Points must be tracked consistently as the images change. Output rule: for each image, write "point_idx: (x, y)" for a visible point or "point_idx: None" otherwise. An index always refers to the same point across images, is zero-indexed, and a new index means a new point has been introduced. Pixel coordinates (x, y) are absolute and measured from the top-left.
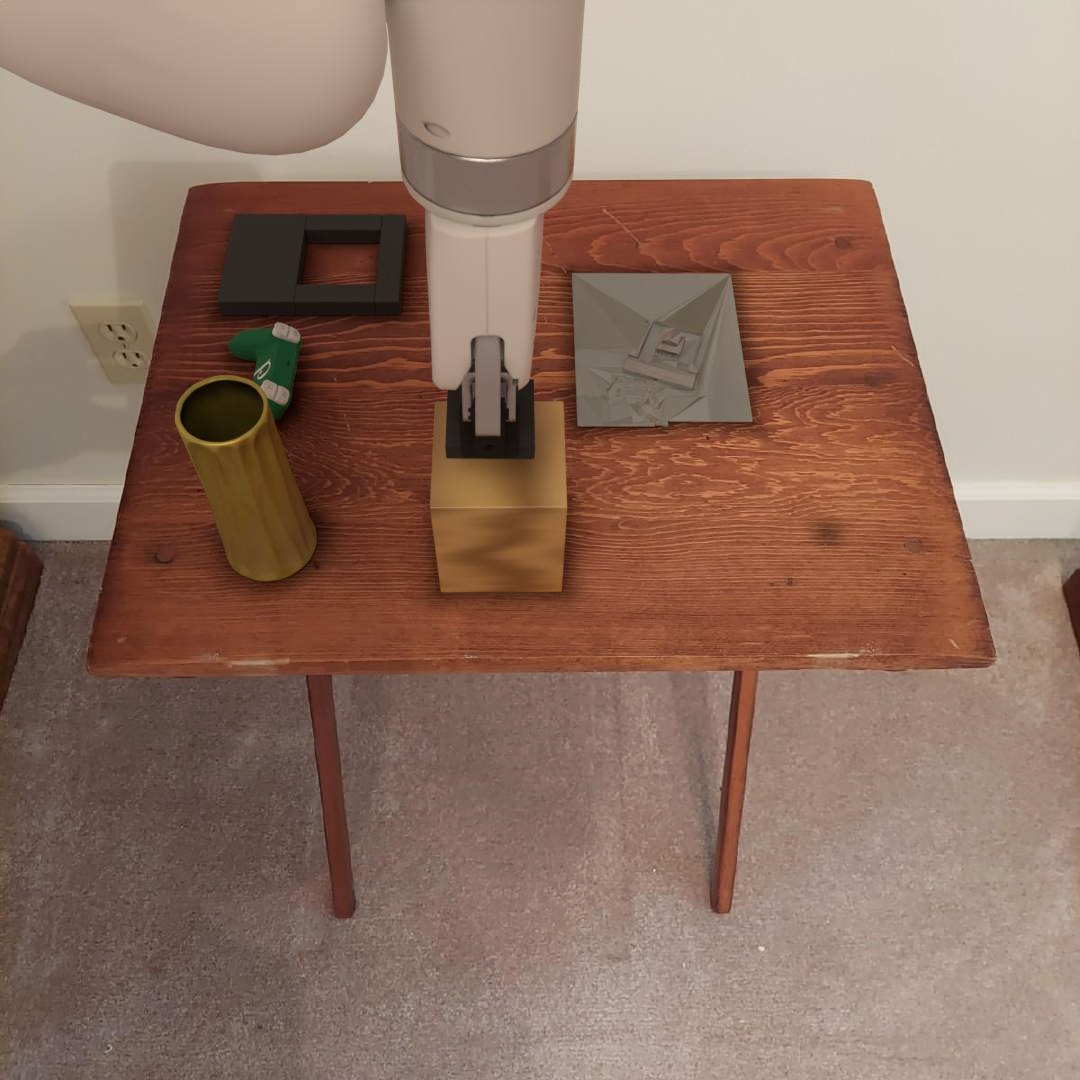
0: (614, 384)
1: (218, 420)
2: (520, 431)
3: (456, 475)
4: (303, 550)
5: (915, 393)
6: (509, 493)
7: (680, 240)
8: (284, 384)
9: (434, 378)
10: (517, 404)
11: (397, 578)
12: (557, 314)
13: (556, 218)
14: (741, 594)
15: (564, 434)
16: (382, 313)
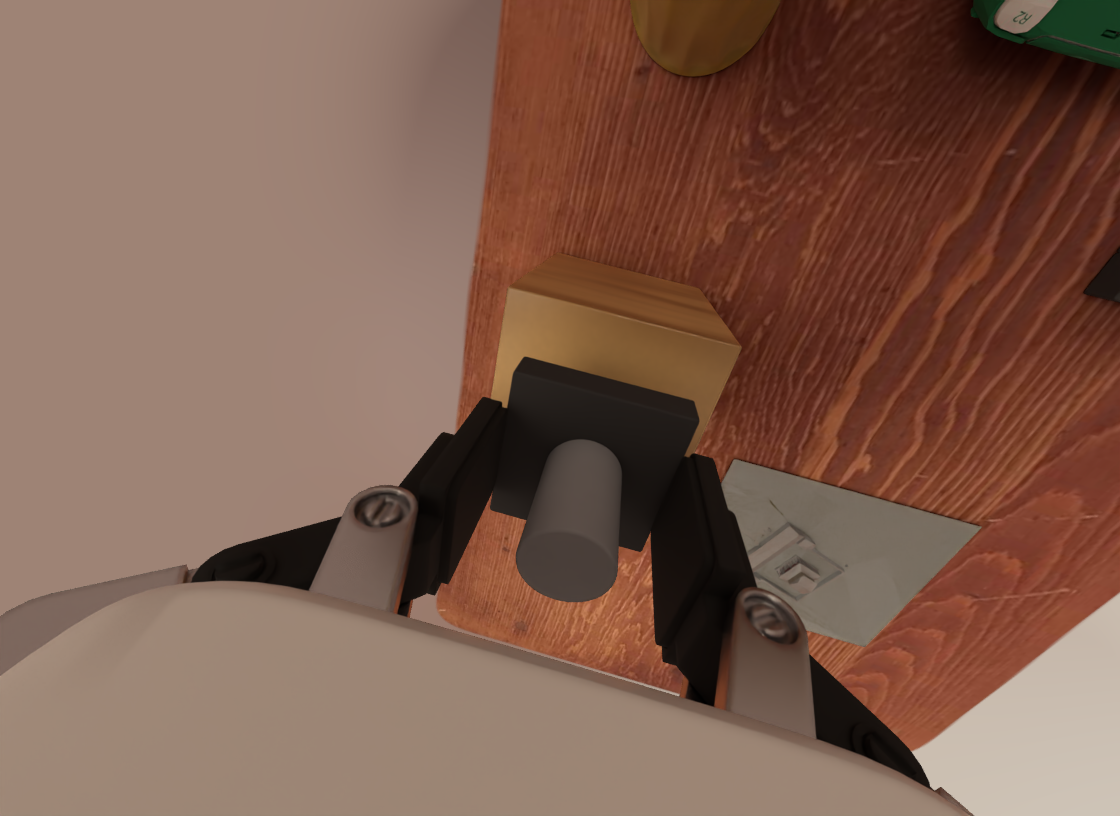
0: (774, 509)
1: None
2: (526, 500)
3: (564, 345)
4: (656, 43)
5: (654, 685)
6: None
7: (948, 631)
8: (1052, 20)
9: (37, 653)
10: (432, 592)
11: (590, 198)
12: (922, 490)
13: (1102, 542)
14: (501, 516)
15: None
16: (1111, 264)
